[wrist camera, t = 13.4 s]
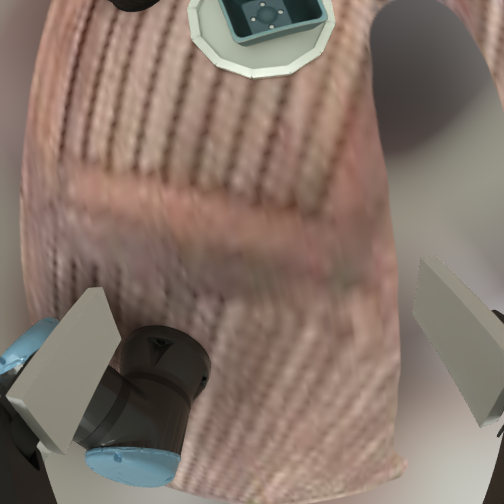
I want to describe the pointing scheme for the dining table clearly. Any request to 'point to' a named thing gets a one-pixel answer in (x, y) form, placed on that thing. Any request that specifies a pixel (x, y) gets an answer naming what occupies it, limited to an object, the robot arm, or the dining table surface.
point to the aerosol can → (133, 4)
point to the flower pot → (270, 18)
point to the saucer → (258, 55)
